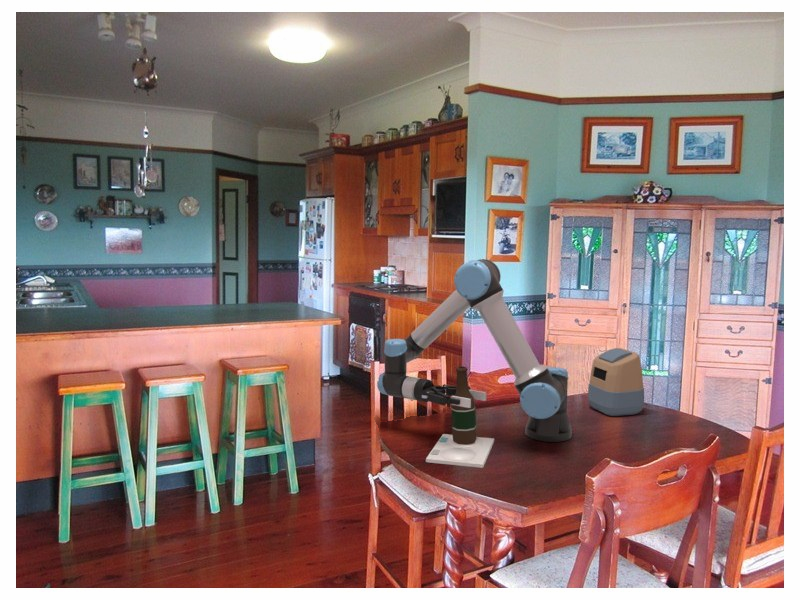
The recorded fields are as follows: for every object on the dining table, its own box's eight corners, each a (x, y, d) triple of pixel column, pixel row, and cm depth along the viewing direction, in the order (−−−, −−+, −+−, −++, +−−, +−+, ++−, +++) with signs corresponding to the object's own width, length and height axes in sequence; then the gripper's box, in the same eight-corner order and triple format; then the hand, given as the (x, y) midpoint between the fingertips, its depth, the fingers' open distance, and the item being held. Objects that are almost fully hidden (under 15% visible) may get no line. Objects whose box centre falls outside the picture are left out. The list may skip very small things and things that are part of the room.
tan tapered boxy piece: (583, 406, 250) (585, 347, 247) (621, 403, 254) (623, 345, 252) (608, 418, 234) (610, 356, 231) (648, 415, 238) (650, 353, 236)
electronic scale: (494, 441, 209) (494, 437, 209) (482, 467, 186) (483, 463, 186) (443, 436, 214) (443, 433, 214) (425, 462, 191) (425, 458, 191)
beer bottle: (450, 437, 209) (447, 365, 207) (474, 435, 210) (471, 363, 207) (454, 445, 202) (451, 370, 199) (479, 443, 202) (476, 368, 200)
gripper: (436, 393, 224) (494, 403, 211) (399, 407, 206) (460, 420, 193) (436, 372, 223) (494, 381, 210) (399, 384, 206) (460, 395, 192)
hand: (478, 399), depth 202 cm, fingers open, 9 cm apart
